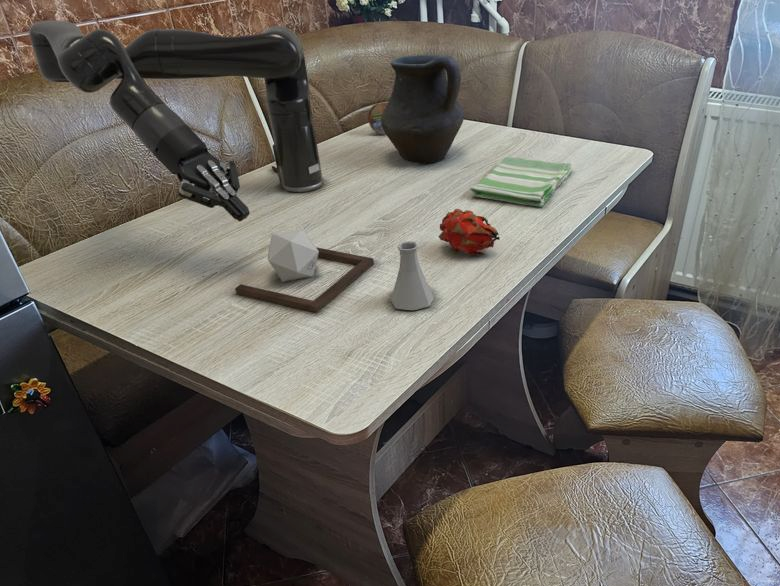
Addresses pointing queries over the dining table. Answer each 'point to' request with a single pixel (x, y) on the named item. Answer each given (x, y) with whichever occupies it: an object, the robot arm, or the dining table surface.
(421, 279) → the flask
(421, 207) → the dining table surface
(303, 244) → the die
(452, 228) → the dragon fruit
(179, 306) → the dining table surface
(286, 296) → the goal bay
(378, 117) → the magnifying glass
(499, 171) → the dish towel
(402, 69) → the pitcher
